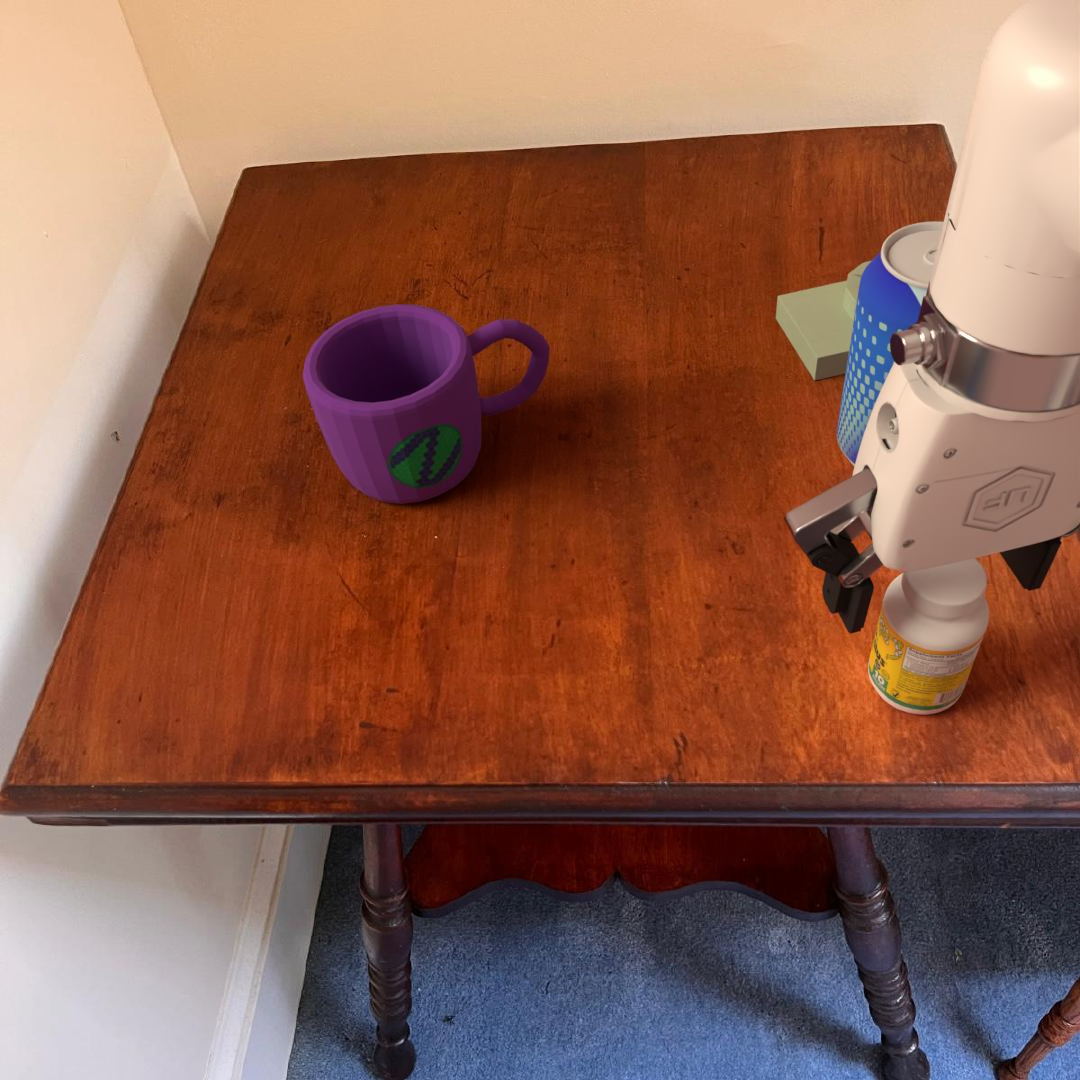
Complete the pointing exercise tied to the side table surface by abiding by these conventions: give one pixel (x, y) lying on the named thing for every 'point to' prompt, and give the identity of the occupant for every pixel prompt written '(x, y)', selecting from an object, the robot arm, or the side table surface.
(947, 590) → the supplement bottle
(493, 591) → the side table surface
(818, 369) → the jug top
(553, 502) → the side table surface
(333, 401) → the mug
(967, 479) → the robot arm
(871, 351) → the beer can
